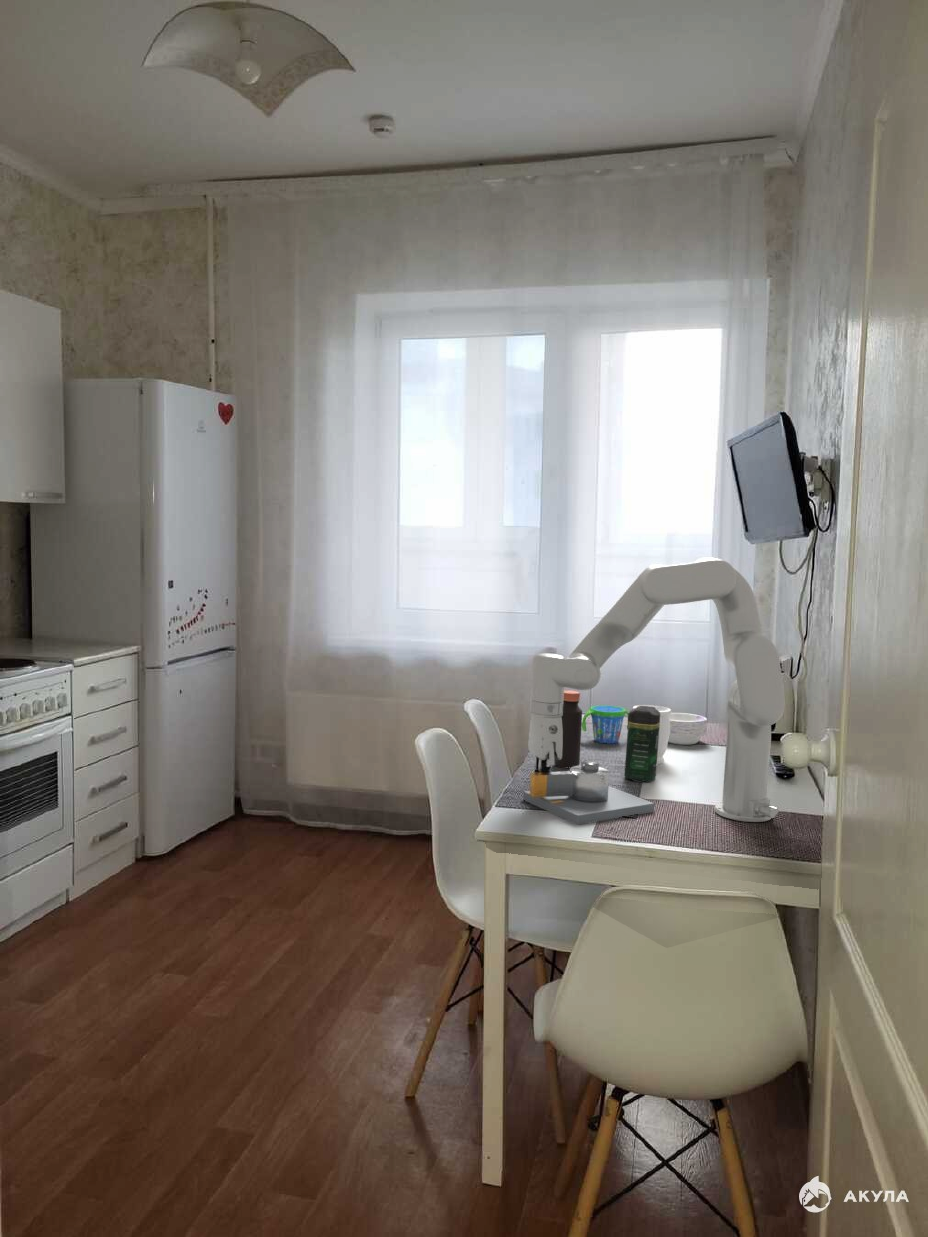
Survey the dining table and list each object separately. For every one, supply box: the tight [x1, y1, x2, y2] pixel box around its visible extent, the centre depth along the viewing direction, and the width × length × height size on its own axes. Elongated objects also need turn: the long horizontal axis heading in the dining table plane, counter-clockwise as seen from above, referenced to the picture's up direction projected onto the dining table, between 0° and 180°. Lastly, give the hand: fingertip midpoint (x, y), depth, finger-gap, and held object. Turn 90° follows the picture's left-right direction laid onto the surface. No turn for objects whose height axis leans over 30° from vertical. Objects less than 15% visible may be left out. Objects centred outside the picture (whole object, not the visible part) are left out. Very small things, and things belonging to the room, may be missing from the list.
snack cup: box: [581, 704, 630, 745], centre depth 283 cm, size 16×10×10 cm
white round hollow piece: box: [668, 712, 708, 746], centre depth 287 cm, size 15×15×8 cm
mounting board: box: [522, 785, 655, 826], centre depth 214 cm, size 20×22×2 cm
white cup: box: [632, 704, 672, 765], centre depth 260 cm, size 11×10×15 cm
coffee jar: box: [624, 706, 660, 783], centre depth 241 cm, size 10×8×19 cm
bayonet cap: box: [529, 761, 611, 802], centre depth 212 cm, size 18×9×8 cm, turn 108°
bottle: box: [554, 690, 583, 769], centre depth 250 cm, size 7×7×20 cm
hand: (541, 786), depth 214 cm, fingers closed
